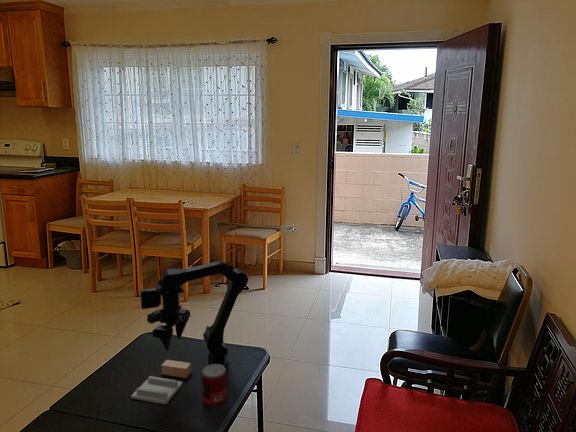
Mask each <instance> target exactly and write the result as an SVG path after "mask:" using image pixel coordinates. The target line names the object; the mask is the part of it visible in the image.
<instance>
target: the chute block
mask: <svg viewBox="0 0 576 432" xmlns="http://www.w3.org/2000/svg"><path fill="white" fill-rule="evenodd" d="M191 373H192V363H191V362H185V361H178V360H172V359H166V360H165V361H164V362H163V363H162V364H161V375H164V376H171V377H177V378H184V379H188V377H189V376H190V375H191Z"/></svg>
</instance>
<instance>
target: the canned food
mask: <svg viewBox="0 0 576 432" xmlns="http://www.w3.org/2000/svg"><path fill="white" fill-rule="evenodd" d="M201 374H202V376H201V377H202V379H201V381H202V382H201V383H202V399H203V402H204V404H205V405H208V406H212V407H213V406H218V405H221V404H223V402H225V401H226V398H227V369H226V368H225V367H224V366H223V365H220V364H211V365H209V364H208V365H206V366H205V367H203V368H202V372H201Z"/></svg>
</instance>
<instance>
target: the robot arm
mask: <svg viewBox="0 0 576 432" xmlns="http://www.w3.org/2000/svg"><path fill="white" fill-rule="evenodd" d="M218 274H220V275H222V276H224V277H225V278H227V285H226V292H225V294H224V298H223V299H222V302H221V304H220V306H219V309H218V311H217V314H216V317H215V318H214V322H213V324H211V325H210V326H208V325H207V326H206V327H205V330H204V333H202V337H203V341H204V344H205V347H206V349H207V350H208V354H207V364H208V365H211V364H220V365H223V366H224V367H226V368H227V366H228V365H229V363H230V361H229V360H228V353H229V349H228V347H227V346H226V344H225V341H224V335H225V334H224V332H225V328H226V326H227V323H228V321H229V318H230V316H231V313H232V311H233V308H234V306H235V304H236V301H237V299H238V296H239V295H240V294H241V293H242V292H243V291H244V289H245V288H246V286H247V284H248V282H249V277H248V275H247V273H245V272H244V270H243V269H241V268H239V267H234V266H232V265H230V264H228V263H226V262H224V261H223V260H221V259H218V260H215V261H211V262H209V263H204V264H200V265H197V266H191V267H188V268H168V269H165V270H163V271H162V273H161V275H160V279H159V281H158V282H157V284H156V285H155V288H148V289H147V288H146V289H144V288H143V289H140V308H141V310H146V309H147V310H148V309H153V308H159V307H160V305H161V304H162V307H161V309H157V310H153V311H151V313H148V314H147V315H146V321H147V322H148V324H151V325H152V324H155V323H157V322H158V323H160V324H159V325H157V326H156V327H155V328H154V329H153V330H152V332H151V333H152V336H151V337H153V338H157V339H159V340H160V341H161V343H162V345H163V347H164V349H165V351H166V352H169V351H170V348H171V346H172V341H173V338H174V334H173V333H174V329H175V333H176V338H177V339H178V340H179V339H180V340H181V338H182V335H183V333H184V331H185V328H186V325H187V324H188V322H189V319H190V318H191V311H190V310H189V309H188V308H187V309H185V308H182V305H180V296H179V294H183V293H185V290H184V288H183V285H185V284H187V283H188V282H192V281H194V280H198V279H199V280H200V279H203V278H207V277H210V276H214V275H218ZM163 324H165V325H163ZM174 327H175V328H174Z"/></svg>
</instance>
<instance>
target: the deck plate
mask: <svg viewBox="0 0 576 432" xmlns="http://www.w3.org/2000/svg"><path fill="white" fill-rule="evenodd" d="M183 383H184V382H183V381H180V380H177V379H172V378H171V379H170V378H165V377H164V378H163V377H158V376H153V375H152V376H151V375H149V376H148V377H147V379H146V380H145V381H144V382H143V383H142V384H141V385H140V386H139V387H137V388H136V389H135V391H134V392H133V393H132V394H131V395H130V398H131V399H133V400H138V401H144V402H149V403H156V404H161V405H167V404H168V403H169V401H170V400H171V399H172V398H173V396H174V395H175V394H176V393H177V392H178V391H179V390H180V388H181V387H182V386H183Z"/></svg>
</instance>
